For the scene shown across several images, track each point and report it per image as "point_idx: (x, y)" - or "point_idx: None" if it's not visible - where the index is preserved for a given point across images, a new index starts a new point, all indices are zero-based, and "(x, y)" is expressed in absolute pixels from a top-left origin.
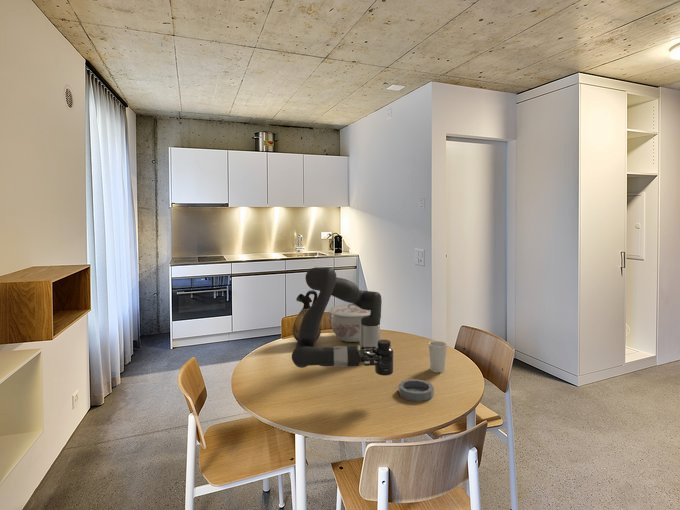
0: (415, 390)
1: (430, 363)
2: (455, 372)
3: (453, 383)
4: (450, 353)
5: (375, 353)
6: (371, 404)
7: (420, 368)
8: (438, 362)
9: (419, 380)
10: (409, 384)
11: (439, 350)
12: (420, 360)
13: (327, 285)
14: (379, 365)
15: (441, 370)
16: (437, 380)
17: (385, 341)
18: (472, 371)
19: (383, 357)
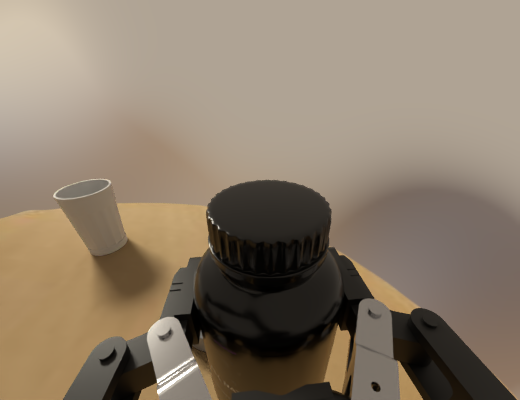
0: None
1: (91, 243)
2: (142, 222)
3: (190, 231)
4: (46, 216)
5: (298, 354)
6: None
7: (72, 274)
8: (117, 224)
9: None
10: None
11: (109, 196)
12: (21, 268)
13: None
14: (325, 368)
15: (126, 236)
16: (164, 251)
17: (268, 196)
18: (152, 205)
19: (356, 294)
